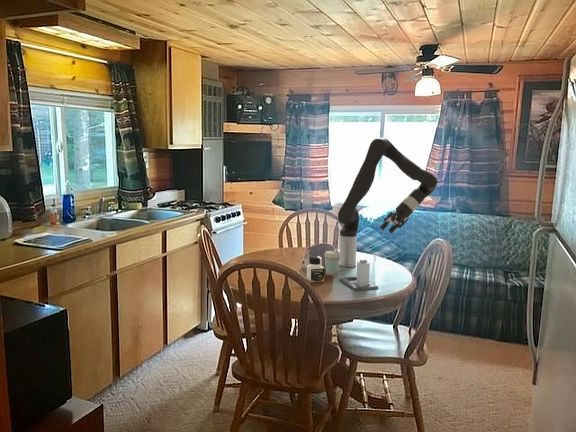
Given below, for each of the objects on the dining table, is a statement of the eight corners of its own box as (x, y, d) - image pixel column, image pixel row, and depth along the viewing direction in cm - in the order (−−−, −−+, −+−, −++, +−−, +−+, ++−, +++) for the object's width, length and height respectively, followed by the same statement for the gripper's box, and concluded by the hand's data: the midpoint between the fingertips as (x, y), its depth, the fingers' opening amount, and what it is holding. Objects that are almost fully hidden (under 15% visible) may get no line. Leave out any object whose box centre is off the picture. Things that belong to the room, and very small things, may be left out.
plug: (356, 286, 231) (357, 259, 229) (364, 285, 232) (365, 258, 230) (360, 288, 227) (361, 261, 225) (368, 288, 228) (369, 261, 226)
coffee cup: (339, 277, 247) (339, 254, 245) (322, 276, 249) (323, 253, 247) (340, 272, 255) (341, 250, 254) (324, 271, 257) (325, 250, 255)
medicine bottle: (310, 282, 237) (311, 258, 236) (306, 278, 244) (306, 255, 242) (324, 281, 239) (324, 258, 238) (319, 277, 246) (320, 254, 244)
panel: (339, 280, 240) (339, 277, 240) (361, 278, 244) (361, 276, 244) (355, 291, 224) (355, 288, 223) (378, 289, 227) (378, 286, 227)
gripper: (395, 199, 244) (374, 222, 243) (410, 203, 231) (388, 228, 229) (404, 210, 247) (383, 232, 245) (419, 214, 233) (397, 238, 232)
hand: (385, 230), depth 237 cm, fingers open, 8 cm apart
